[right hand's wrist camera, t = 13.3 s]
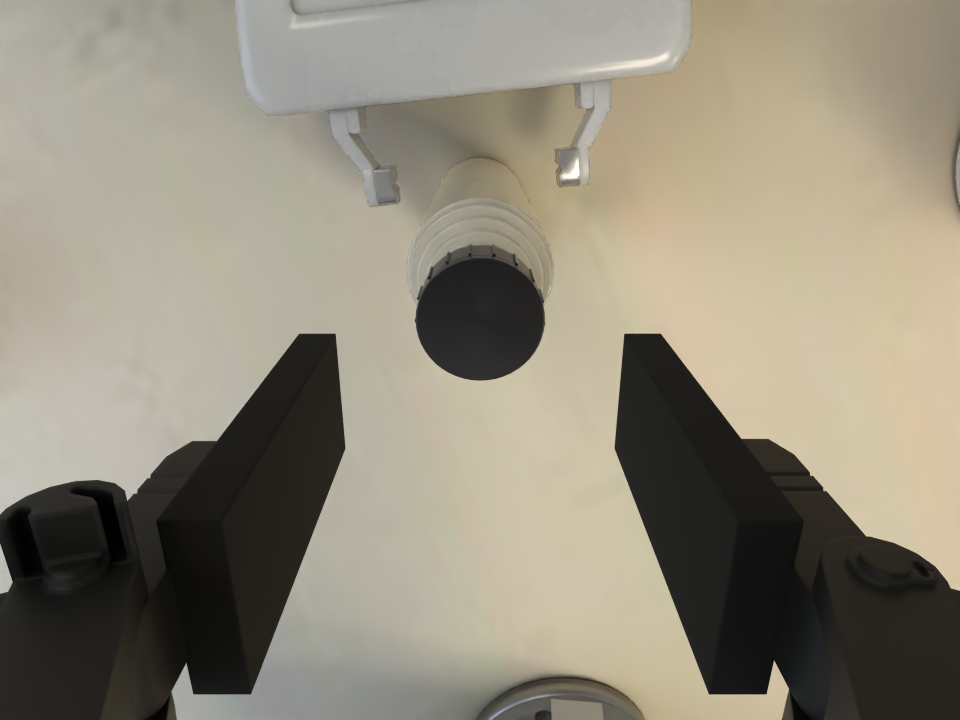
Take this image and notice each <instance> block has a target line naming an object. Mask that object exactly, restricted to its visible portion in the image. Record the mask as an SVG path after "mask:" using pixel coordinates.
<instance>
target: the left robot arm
mask: <svg viewBox="0 0 960 720" xmlns="http://www.w3.org/2000/svg"><path fill="white" fill-rule="evenodd" d="M234 3H235V19H236V31H237V40H238V49H239V56H240V64H241V70H242V76H243V82H244V87H245V91H246V94H247V96H248V98H249V99H250V100H251V101H252V102H253V103H254V104H255V105H256V106H257V107H258V108H259V109H260V110H261V111H262V112H263V113H264V114H265V115H267V116H286V115H295V114H305V113H314V112H323V111H328V112H329V118H330V124H331V129H332V135H333V138H334V139H335V140H336V141H337V143H338V144H339V145H340V147H341V148H342V149H343V150H344V152H345V153H346V154H347V156H348V157H349V158H350V159H351V161H352V162H353V163H354V165H355V166H356V167H357V169H358V170H359V171H362V173H363V179H364V185H365V191H366V197H367V202H368V205H369V207H379V206H386V205H394V204H399V202H400V201H401V195H400V187H399V186H398V185H397V184H396V182H397V180H398V173H397V167H396V165H391V166H380V164H379V163H378V162H377V160H376V159H375V157H374V156H373V155H372V153H371V152H370V150H369V149H368V148H367V146H366V145H365V144H364V142H363V141H362V139H361V138H360V137H359V135H358V134H357V133H362V132H366V131H367V130H368V124H367V117H366V110H365V107H366V106H375V105H384V104H393V103H402V102H411V101H420V100H430V99H439V98H448V97H457V96H466V95H475V94H484V93H493V92H502V91H511V90H520V89H530V88H539V87H548V86H557V85H566V84H574V88H575V105H576V107H577V108H580V109H587V110H586V113H585V115H584V117H583V119H582V121H581V123H580V126H579V128H578V130H577V132H576V134H575V136H574V139H573V141H572V143H571V146H568V147H561V148H555V162H556V163H557V164H558V168H557V170H556V180H557V185H558V186H559V187H568V186H579V185H589V181H590V169H589V147H591V146H592V144H593V142H594V140H595V138H596V136H597V134H598V132H599V130H600V128H601V126H602V124H603V122H604V120H605V118H606V116H607V114H608V112H609V110H610V108H611V80H614V79H623V78H632V77H641V76H650V75H659V74H666V73H671V72H673V71H674V70H675V69H676V68H677V67H678V65H679V64H680V62H681V61H682V60H683V58H684V57H685V55H686V53H687V52H688V50H689V48H690V44H691V37H692V6H691V0H234ZM955 178H956V191H957V197H958V201H959V205H960V143H959V147H958V152H957V159H956V172H955Z"/></svg>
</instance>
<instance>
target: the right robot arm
mask: <svg viewBox="0 0 960 720" xmlns="http://www.w3.org/2000/svg"><path fill="white" fill-rule="evenodd" d="M344 451H345V438H344V427H343V415H342V403H341V392H340V380H339V368H338V357H337V345H336V334H299V335H298V336H297V337H296V339H295V340H294V341H293V343H292V344H291V345H290V347H289V348H288V349H287V351H286V352H285V353H284V354H283V356H282V357H281V358H280V360H279V361H278V362H277V364H276V365H275V366H274V367H273V369H272V370H271V371H270V373H269V374H268V375H267V377H266V378H265V379H264V381H263V382H262V383H261V384H260V386H259V387H258V388H257V390H256V391H255V392H254V394H253V395H252V396H251V397H250V399H249V400H248V401H247V403H246V404H245V405H244V407H243V408H242V409H241V411H240V412H239V413H238V414H237V416H236V417H235V418H234V420H233V421H232V422H231V424H230V425H229V426H228V428H227V429H226V430H225V431H224V433H223V434H222V435H221V437H220V438H219V439H218V441H192V442H190V443H188V444H187V445H185V446H183V447H182V448H180V449H178V450H177V451H175V452H173V453H172V454H170V455H168V456H167V457H166V458H165V459H164V460H163V461H162V462H161V464H160V465H159V466H158V467H157V468H156V469H155V470H154V472H153V473H152V474H151V478H147V480H146V481H145V482H144V483H143V484H142V485H141V486H140V488H139V489H138V492H137V494H133V496H132V497H131V498H130V499H129V500H128V501H127V498H126V494H125V490H123V489H122V488H121V487H119V486H118V485H116V484H115V483H111V482H105V481H100V480H90V481H75V482H70V483H66V484H61V485H57V486H53V487H49V488H47V489H44V490H41V491H39V492H36V493H34V494H31V495H29V496H26V497H25V498H23V499H21V500H20V501H18V502H16V503H15V504H13V505H11V506H10V507H8V508H6V509H5V510H4V511H3V512H2V514H1V515H0V544H1V547H2V550H3V553H4V556H5V559H6V562H7V566H8V569H9V572H10V575H11V578H12V581H13V583H12V585H11V587H10V589H9V591H8V592H6V593H2V594H0V720H177V718H176V711H175V704H174V700H173V696H172V692H171V691H172V689H173V687H174V685H175V683H176V681H177V680H178V678H179V676H180V674H181V672H182V670H183V668H184V666H185V664H186V662H187V667H188V671H189V676H190V680H191V685H192V690H193V694H251V693H252V690H253V688H254V685H255V682H256V680H257V677H258V675H259V672H260V669H261V667H262V664H263V662H264V659H265V656H266V654H267V651H268V649H269V646H270V643H271V641H272V638H273V635H274V633H275V630H276V628H277V625H278V622H279V620H280V617H281V615H282V612H283V609H284V607H285V604H286V602H287V599H288V596H289V594H290V591H291V589H292V586H293V583H294V581H295V578H296V576H297V573H298V570H299V568H300V565H301V563H302V560H303V557H304V555H305V552H306V550H307V547H308V544H309V542H310V539H311V537H312V534H313V531H314V529H315V526H316V524H317V521H318V518H319V516H320V513H321V511H322V508H323V505H324V503H325V500H326V498H327V495H328V492H329V490H330V487H331V485H332V482H333V479H334V477H335V474H336V471H337V469H338V466H339V464H340V461H341V458H342V456H343V453H344ZM615 451H616V453H617V456H618V458H619V461H620V464H621V466H622V469H623V471H624V474H625V477H626V479H627V482H628V485H629V487H630V490H631V492H632V495H633V498H634V500H635V503H636V505H637V508H638V511H639V513H640V516H641V518H642V521H643V524H644V526H645V529H646V531H647V534H648V537H649V539H650V542H651V544H652V547H653V550H654V552H655V555H656V557H657V560H658V563H659V565H660V568H661V570H662V573H663V576H664V578H665V581H666V583H667V586H668V589H669V591H670V594H671V596H672V599H673V602H674V604H675V607H676V609H677V612H678V615H679V617H680V620H681V622H682V625H683V628H684V630H685V633H686V635H687V638H688V641H689V643H690V646H691V649H692V651H693V654H694V656H695V659H696V662H697V664H698V667H699V669H700V672H701V675H702V677H703V680H704V682H705V685H706V688H707V690H708V693H709V694H767V690H768V685H769V680H770V676H771V671H772V667H773V662H774V661H775V663H776V665H777V666H778V668H779V670H780V672H781V674H782V676H783V678H784V680H785V682H786V684H787V686H788V687H789V692H788V696H787V700H786V704H785V709H784V713H783V717H782V720H960V591H958V590H954V589H951V588H950V586H949V584H948V582H947V581H946V579H945V578H944V577H943V576H942V574H941V573H940V572H939V571H938V569H937V568H936V567H935V566H934V565H932V564H931V563H929V562H928V561H927V560H925V559H924V558H922V557H921V556H920V555H918V554H917V553H915V552H912V551H910V550H908V549H906V548H904V547H901V546H899V545H897V544H895V543H892V542H888V541H884V540H880V539H877V538H873V537H866V536H865V535H864V533H863V532H862V531H861V530H860V529H859V528H858V527H857V525H856V524H855V523H854V522H853V521H852V520H851V519H850V517H849V516H848V515H847V514H846V513H845V512H844V511H843V510H842V508H841V507H840V506H839V505H838V504H837V503H836V502H835V500H834V499H833V498H832V497H831V496H830V495H829V494H828V493H827V491H823V487H822V486H821V485H820V483H819V482H818V481H817V480H816V479H815V478H814V477H813V476H810V472H809V471H808V470H807V469H806V468H805V466H804V465H803V464H802V463H801V462H800V461H799V460H798V458H797V457H796V456H795V455H794V454H792V453H791V452H789V451H787V450H786V449H784V448H782V447H781V446H779V445H777V444H776V443H774V442H772V441H771V440H769V439H741V438H740V437H739V435H738V434H737V433H736V431H735V430H734V429H733V428H732V426H731V425H730V424H729V422H728V421H727V420H726V418H725V417H724V416H723V414H722V413H721V412H720V411H719V409H718V408H717V407H716V405H715V404H714V403H713V401H712V400H711V399H710V397H709V396H708V395H707V394H706V392H705V391H704V390H703V388H702V387H701V386H700V384H699V383H698V382H697V381H696V379H695V378H694V377H693V375H692V374H691V373H690V371H689V370H688V369H687V367H686V366H685V365H684V364H683V362H682V361H681V360H680V358H679V357H678V356H677V354H676V353H675V352H674V351H673V349H672V348H671V347H670V345H669V344H668V343H667V341H666V340H665V339H664V337H663V336H662V335H661V334H624V345H623V357H622V368H621V380H620V392H619V403H618V415H617V427H616V438H615ZM476 720H645V719H644V717H643V715H642V714H641V712H640V711H639V709H638V708H637V707H636V706H635V705H634V704H633V703H632V702H631V701H630V700H629V699H628V698H626V697H625V696H624V695H622V694H620V693H619V692H617V691H615V690H613V689H611V688H609V687H607V686H604V685H602V684H598V683H595V682H591V681H587V680H581V679H571V678H555V679H545V680H539V681H535V682H530V683H527V684H524V685H521V686H518V687H516V688H513V689H511V690H509V691H507V692H505V693H504V694H502V695H500V696H499V697H497V698H496V699H495V700H493V701H492V702H491V703H490V704H489V705H488V706H487V707H485V709H484V710H483V711H482V712H481V713H480V715H479V716H478V717H477V719H476Z"/></svg>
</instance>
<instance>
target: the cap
mask: <svg viewBox="0 0 960 720" xmlns="http://www.w3.org/2000/svg"><path fill="white" fill-rule="evenodd" d="M417 300H419V301H418V304H417V310H416V318H415V323H416V329H417V333H418V337H419V340H420V342H421V344H422V346H423V348H424V350H425V352H426V353H427V354H428V356H429V357H430V358H431V359H432V360H433V361H434V362H435V363H436V364H437V365H438V366H439V367H441V368H442V369H444V370H445V371H447V372H448V373H451V374H453V375H455V376H458V377H461V378H464V379H469V380H491V379H496V378H500V377H503V376H505V375H508V374H510V373H512V372H514V371H515V370H517V369H518V368H520V367H521V366H522V365H524V364H525V363H526V362H527V361H528V360H529V359H530V358H531V356H532V355H533V354H534V352H535V351H536V349H537V347H538V346H539V343H540V341H541V338H542V335H543V331H544V326H545V313H544V306H543V303H544V299H543V296H542V292H541V289H538V286H537V283H536V281H535V278H534V275H533V272H532V269H528V267H527V266H526V265H525V264H524V263H523V262H522V261H521V260H520V259H519V258H517V256H516V254H515V253H514V254H512V253H510V252H508V251H506V250H503V249H501V248H498V247H495V245H493V244H492V246H488V245H472V244H469V246H467V247H463V248H460V249H457V250H455V251H453V252H451V253H450V252H447V255H446V256H444V257H443V258H442V259H441V260H440V261H438V262H437V263H436V264H435V266H434V267H432V266H431V267H430V270H429V274H428V276H427V278H426V280H425V282H424V285H423V286H421V287H420V290H419V294H418V297H417Z"/></svg>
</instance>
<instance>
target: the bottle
mask: <svg viewBox="0 0 960 720" xmlns="http://www.w3.org/2000/svg"><path fill="white" fill-rule="evenodd" d="M469 244H472V245H488V246H492V244H493V245H495V247H498V248H501V249H503V250H506V251H508V252H510V253H512V254H514V253H515V254H516V256H517V258H519V259H520V260H521V261H522V262H523V263H524V264H525V265H526V266H527V267H528V269H532V272H533V275H534V278H535V281H536V283H537V286H538V289H541V292H542V296H543V299H544V303H543V306H544V305H545V303H546V301H547V299H548V296H549V294H550V291H551V287H552V283H553V275H554V264H553V257H552V253H551V249H550V246H549V243H548V241H547V239H546V237H545V235H544V233H543V230H542V228H541V226H540V224H539V222H538V220H537V218H536V216H535V213H534V211H533V209H532V207H531V205H530V203H529V201H528V199H527V196H526V194H525V192H524V190H523V188H522V186H521V184H520V182H519V180H518V178H517V177H516V176H515V174H514V173H513V172H512V171H511V170H510V169H509V168H508V167H506V166H505V165H503V164H501V163H500V162H498V161H495V160H492V159H487V158H473V159H468V160H465V161H463V162H461V163H459V164H457V165H456V166H454V167H453V168H452V169H450V170H449V171H448V172H447V173H446V175H445V176H444V177H443V179H442V180H441V182H440V184H439V187H438V189H437V191H436V193H435V195H434V197H433V199H432V202H431V204H430V206H429V208H428V210H427V212H426V214H425V216H424V219H423V221H422V223H421V225H420V227H419V229H418V231H417V234H416V236H415V238H414V240H413V242H412V244H411V247H410V251H409V254H408V260H407V280H408V285H409V290H410V293H411V295H412V298H413V300H414V302H415V304H416V306H417V304H418V301H419V300H417V297H418V294H419V290H420V287H421V286H423V285H424V282H425V280H426V278H427V276H428V274H429V270H430V267H431V266H432V267H434V266H435V264H436V263H437V262H438V261H440V260H441V259H442V258H443V257H444V256H446V255H447V252H450V253H451V252H453V251H455V250H457V249H460V248H463V247H467V246H469Z"/></svg>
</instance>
